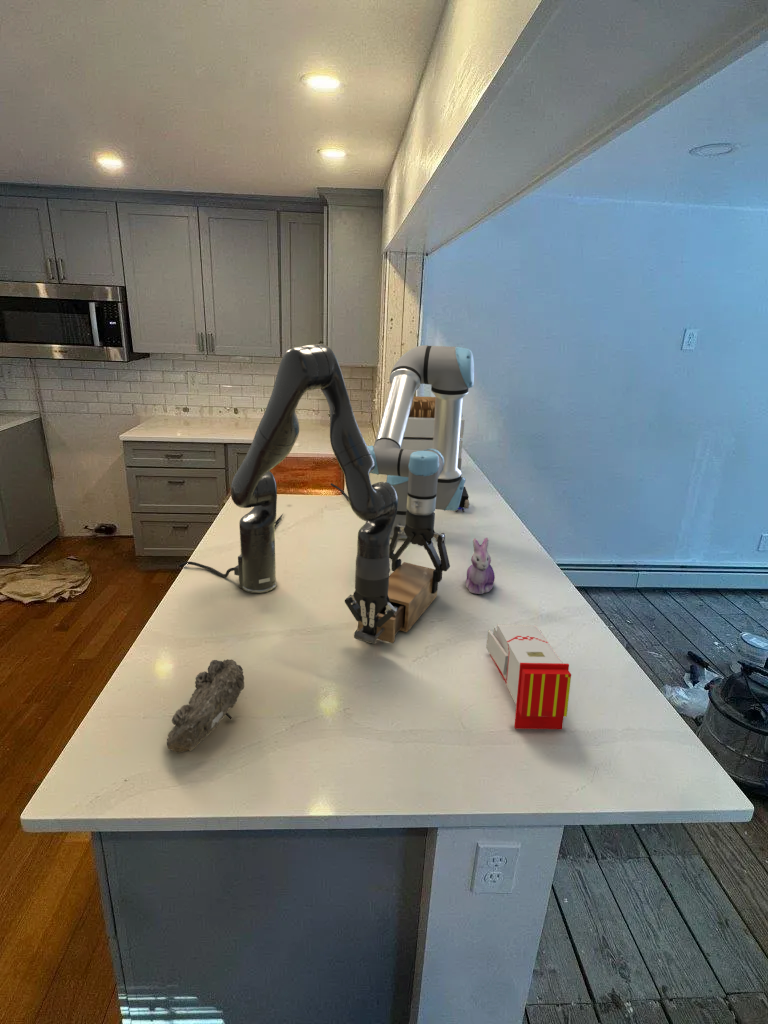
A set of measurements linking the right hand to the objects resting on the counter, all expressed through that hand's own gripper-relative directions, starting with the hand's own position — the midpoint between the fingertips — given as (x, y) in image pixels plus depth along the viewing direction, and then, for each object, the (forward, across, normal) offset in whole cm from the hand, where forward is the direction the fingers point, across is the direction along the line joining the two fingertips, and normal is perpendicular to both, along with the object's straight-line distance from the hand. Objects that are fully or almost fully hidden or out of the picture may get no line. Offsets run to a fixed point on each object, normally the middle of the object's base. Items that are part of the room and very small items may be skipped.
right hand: (415, 586), depth 155 cm
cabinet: (+3, 0, -7) cm, 8 cm away
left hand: (+1, 0, -28) cm, 28 cm away
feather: (+3, -67, +32) cm, 74 cm away
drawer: (+2, 0, -18) cm, 18 cm away
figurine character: (+3, -13, +78) cm, 79 cm away
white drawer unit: (+3, -46, +118) cm, 126 cm away
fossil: (+3, -16, -64) cm, 65 cm away
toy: (+3, +35, -25) cm, 43 cm away
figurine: (+3, +14, +15) cm, 21 cm away
